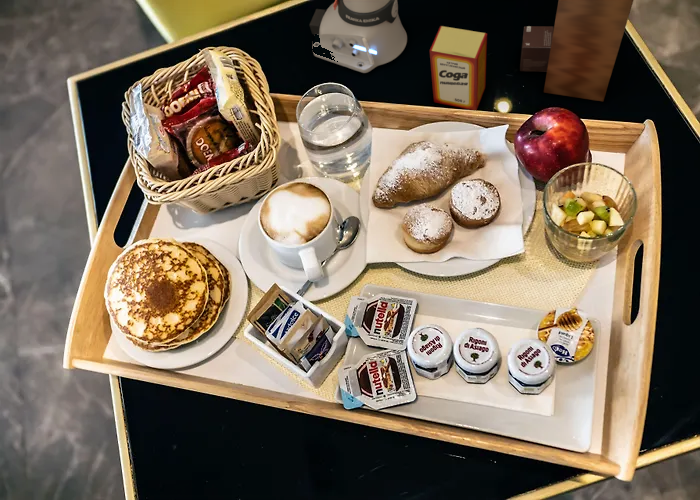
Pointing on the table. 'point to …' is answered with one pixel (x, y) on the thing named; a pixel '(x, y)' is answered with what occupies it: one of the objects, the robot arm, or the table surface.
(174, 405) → the table surface
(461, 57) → the baking soda box
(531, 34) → the box
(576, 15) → the wooden high-back chair
